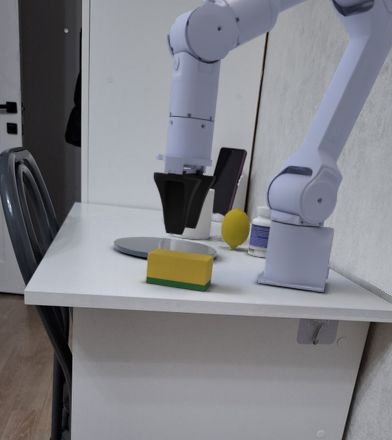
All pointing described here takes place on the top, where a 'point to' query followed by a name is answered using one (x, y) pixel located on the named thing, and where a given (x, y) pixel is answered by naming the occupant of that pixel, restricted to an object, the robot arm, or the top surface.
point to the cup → (200, 221)
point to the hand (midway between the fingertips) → (181, 230)
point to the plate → (160, 246)
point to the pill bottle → (260, 232)
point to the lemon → (235, 228)
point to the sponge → (179, 269)
